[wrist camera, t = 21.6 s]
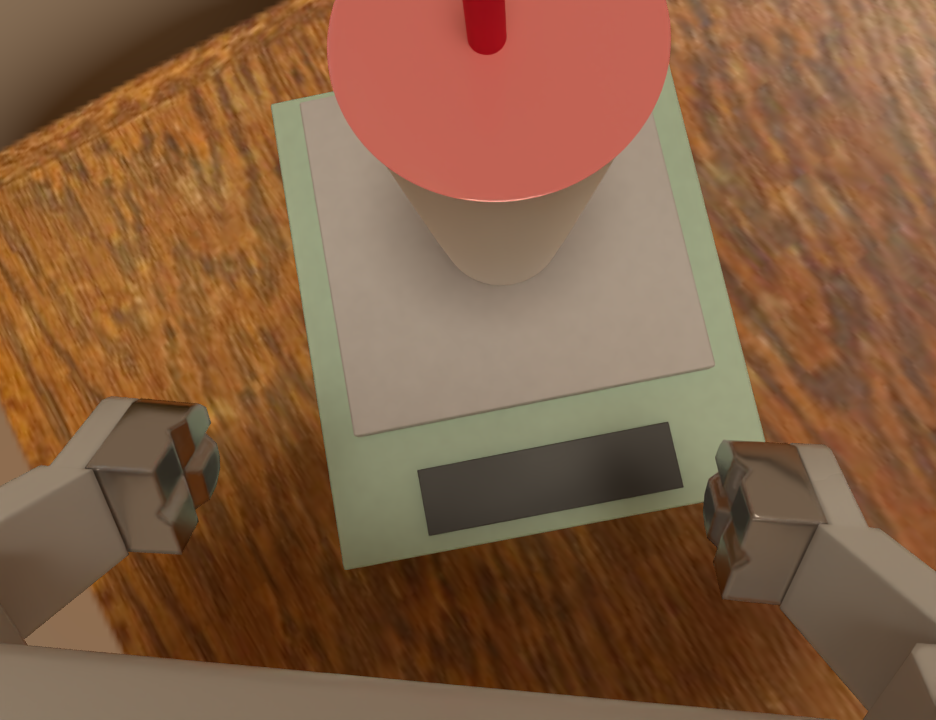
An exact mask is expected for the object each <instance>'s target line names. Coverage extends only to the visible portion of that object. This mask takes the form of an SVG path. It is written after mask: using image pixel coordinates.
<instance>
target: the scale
mask: <svg viewBox="0 0 936 720" xmlns="http://www.w3.org/2000/svg"><path fill="white" fill-rule="evenodd" d="M271 110H272V116H273V123H274V129H275V135H276V142H277V148H278V155H279V161H280V167H281V174H282V180H283V186H284V193H285V199H286V205H287V212H288V218H289V224H290V231H291V237H292V243H293V250H294V256H295V262H296V269H297V275H298V281H299V288H300V294H301V300H302V307H303V313H304V319H305V326H306V332H307V339H308V345H309V351H310V358H311V364H312V370H313V377H314V383H315V389H316V396H317V402H318V408H319V415H320V421H321V427H322V434H323V440H324V446H325V453H326V459H327V465H328V472H329V478H330V484H331V491H332V497H333V503H334V510H335V516H336V523H337V529H338V535H339V542H340V548H341V554H342V561H343V567H344V569H345V570H349V569H355V568H360V567H365V566H370V565H376V564H381V563H386V562H391V561H397V560H402V559H407V558H413V557H418V556H423V555H428V554H434V553H439V552H444V551H449V550H455V549H460V548H465V547H470V546H476V545H481V544H486V543H491V542H497V541H502V540H507V539H512V538H518V537H523V536H528V535H533V534H539V533H544V532H549V531H554V530H560V529H565V528H570V527H575V526H581V525H586V524H591V523H596V522H602V521H607V520H612V519H617V518H623V517H628V516H633V515H638V514H644V513H649V512H654V511H660V510H665V509H670V508H675V507H681V506H686V505H691V504H696V503H702V502H704V494H705V490H706V486H707V483H708V479H709V478H710V477H712V476H713V475H714V474H716V473H717V472H718V468H717V464H716V460H715V456H716V453H717V450H718V447H719V445H720V444H721V442H722V441H723V439H724V440H740V441H757V442H765V438H764V434H763V430H762V427H761V423H760V419H759V415H758V411H757V407H756V403H755V399H754V395H753V391H752V387H751V383H750V380H749V376H748V372H747V368H746V364H745V360H744V356H743V352H742V348H741V344H740V340H739V337H738V333H737V329H736V325H735V321H734V317H733V313H732V309H731V305H730V301H729V297H728V294H727V290H726V286H725V282H724V278H723V274H722V270H721V266H720V262H719V258H718V254H717V251H716V247H715V243H714V239H713V235H712V231H711V227H710V223H709V219H708V215H707V211H706V207H705V204H704V200H703V196H702V192H701V188H700V184H699V180H698V176H697V172H696V168H695V164H694V161H693V157H692V153H691V149H690V145H689V141H688V137H687V133H686V129H685V125H684V121H683V118H682V114H681V110H680V106H679V102H678V98H677V94H676V90H675V86H674V82H673V78H672V74H671V71H670V67H669V65H668V70H667V75H666V78H665V82H664V85H663V88H662V91H661V94H660V96H659V98H658V101H657V103H656V105H655V107H654V109H653V111H652V113H651V114H650V116H649V118H648V119H647V121H646V123H645V124H644V126H643V127H642V128H641V130H640V131H639V132H638V134H637V135H636V136H635V138H634V139H633V140H632V141H631V142H630V143H629V144H628V145H627V147H626V148H625V149H624V150H623V151H622V152H621V153H619V154H618V155H617V156H616V157H615V159H614V160H613V162H612V164H611V165H610V167H609V169H608V170H607V172H606V174H605V175H604V177H603V179H602V180H601V182H600V184H599V185H598V187H597V188H596V190H595V192H594V193H593V195H592V197H591V198H590V200H589V202H588V203H587V205H586V206H585V208H584V210H583V211H582V213H581V215H580V216H579V218H578V219H577V221H576V223H575V224H574V226H573V227H572V229H571V231H570V232H569V234H568V236H567V237H566V239H565V240H564V242H563V243H562V245H561V246H560V248H559V249H558V251H557V252H556V254H555V255H554V257H553V258H552V260H551V261H550V262H549V264H548V265H547V266H546V267H545V268H544V269H543V270H542V271H540V272H539V273H538V274H536V275H535V276H533V277H531V278H530V279H528V280H525V281H523V282H520V283H516V284H511V285H490V284H486V283H482V282H479V281H477V280H474V279H472V278H471V277H469V276H467V275H466V274H464V273H463V272H462V271H461V270H460V269H458V268H457V266H456V265H455V264H454V263H453V262H452V260H451V259H450V258H449V256H448V255H447V253H446V252H445V251H444V250H443V248H442V247H441V246H440V244H439V243H438V242H437V240H436V239H435V237H434V236H433V234H432V233H431V231H430V230H429V229H428V227H427V226H426V224H425V223H424V221H423V220H422V218H421V217H420V215H419V214H418V213H417V211H416V210H415V208H414V207H413V205H412V204H411V202H410V201H409V199H408V198H407V196H406V195H405V194H404V192H403V191H402V189H401V188H400V186H399V185H398V183H397V182H396V180H395V179H394V177H393V176H392V174H391V173H390V171H389V170H388V168H387V167H386V166H385V165H384V164H383V163H381V162H380V161H379V160H378V159H377V158H376V157H375V156H374V155H373V154H372V153H371V152H370V151H369V150H368V149H367V148H366V147H365V146H364V145H363V144H362V143H361V141H360V140H359V139H358V137H357V136H356V135H355V133H354V132H353V131H352V129H351V127H350V126H349V124H348V123H347V121H346V119H345V117H344V115H343V113H342V111H341V109H340V107H339V105H338V102H337V100H336V97H335V94H334V91H333V92H328V93H324V94H319V95H314V96H309V97H304V98H300V99H295V100H290V101H285V102H280V103H276V104H272V105H271Z"/></svg>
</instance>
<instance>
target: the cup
mask: <svg viewBox="0 0 936 720" xmlns="http://www.w3.org/2000/svg"><path fill="white" fill-rule="evenodd" d="M670 50H671V28H670V19H669V13H668V8H667V3H666V0H335V2H334V5H333V9H332V13H331V17H330V22H329V28H328V38H327V59H328V68H329V74H330V79H331V84H332V87H333V91H334V94H335V97H336V100H337V102H338V105H339V107H340V109H341V111H342V113H343V115H344V117H345V119H346V121H347V123H348V124H349V126H350V127H351V129H352V131H353V132H354V133H355V135H356V136H357V137H358V139H359V140H360V141H361V143H362V144H363V145H364V146H365V147H366V148H367V149H368V150H369V151H370V152H371V153H372V154H373V155H374V156H375V157H376V158H377V159H378V160H379V161H380V162H381V163H383V164H384V165H385V166H386V167H387V168H388V170H389V171H390V173H391V174H392V176H393V177H394V179H395V180H396V182H397V183H398V185H399V186H400V188H401V189H402V191H403V192H404V194H405V195H406V196H407V198H408V199H409V201H410V202H411V204H412V205H413V207H414V208H415V210H416V211H417V213H418V214H419V215H420V217H421V218H422V220H423V221H424V223H425V224H426V226H427V227H428V229H429V230H430V231H431V233H432V234H433V236H434V237H435V239H436V240H437V242H438V243H439V244H440V246H441V247H442V248H443V250H444V251H445V252H446V253H447V255H448V256H449V258H450V259H451V260H452V262H453V263H454V264H455V265H456V266H457V268H458V269H460V270H461V271H462V272H463V273H464V274H466V275H467V276H469V277H471V278H472V279H474V280H477V281H479V282H482V283H486V284H490V285H511V284H516V283H520V282H523V281H525V280H528V279H530V278H531V277H533V276H535V275H536V274H538V273H539V272H540V271H542V270H543V269H544V268H545V267H546V266H547V265H548V264H549V262H550V261H551V260H552V258H553V257H554V255H555V254H556V252H557V251H558V249H559V248H560V246H561V245H562V243H563V242H564V240H565V239H566V237H567V236H568V234H569V232H570V231H571V229H572V227H573V226H574V224H575V223H576V221H577V219H578V218H579V216H580V215H581V213H582V211H583V210H584V208H585V206H586V205H587V203H588V202H589V200H590V198H591V197H592V195H593V193H594V192H595V190H596V188H597V187H598V185H599V184H600V182H601V180H602V179H603V177H604V175H605V174H606V172H607V170H608V169H609V167H610V165H611V164H612V162H613V160H614V159H615V157H616V156H617V155H618V154H619V153H621V152H622V151H623V150H624V149H625V148H626V147H627V145H628V144H629V143H630V142H631V141H632V140H633V139H634V138H635V136H636V135H637V134H638V132H639V131H640V130H641V128H642V127H643V126H644V124H645V123H646V121H647V119H648V118H649V116H650V114H651V113H652V111H653V109H654V107H655V105H656V103H657V101H658V98H659V96H660V94H661V91H662V88H663V85H664V82H665V78H666V75H667V70H668V65H669V59H670Z"/></svg>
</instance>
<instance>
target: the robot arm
mask: <svg viewBox="0 0 936 720" xmlns="http://www.w3.org/2000/svg"><path fill="white" fill-rule="evenodd" d="M210 424H211V421H210V418H209V415H208V412H207V409H206V407H205V406H203V405H201V404H197V403H186V402H175V401H164V400H153V399H142V398H141V399H135V398H125V397H114V396H111V397H108V398H106V399H104V400H102V401H101V402H100V403H99V405H98V406H97V407H96V408H95V410H94V411H93V412H92V413H91V415H90V416H89V417H88V418H87V420H86V421H85V422H84V423H83V425H82V426H81V427H80V428H79V430H78V431H77V432H76V433H75V435H74V436H73V437H72V438H71V440H70V441H69V442H68V443H67V445H66V446H65V447H64V448H63V450H62V451H61V452H60V453H59V455H58V456H57V457H56V458H55V460H54V461H53V462H52V463H51V465H50V466H38V467H36V468H34V469H32V470H30V471H28V472H26V473H25V474H23V475H21V476H19V477H17V478H15V479H13V480H11V481H10V482H7V483H5V484H4V485H2V486H0V720H835V719H824V718H813V717H802V716H791V715H780V714H770V713H759V712H748V711H737V710H726V709H715V708H704V707H694V706H683V705H672V704H661V703H650V702H639V701H628V700H616V699H605V698H594V697H583V696H572V695H561V694H550V693H539V692H528V691H517V690H506V689H495V688H484V687H473V686H462V685H451V684H441V683H430V682H419V681H408V680H397V679H387V678H376V677H365V676H354V675H344V674H333V673H322V672H311V671H301V670H290V669H279V668H268V667H257V666H246V665H236V664H225V663H214V662H203V661H192V660H181V659H170V658H159V657H149V656H138V655H127V654H116V653H105V652H94V651H83V650H72V649H61V648H51V647H40V646H28V645H27V643H26V642H25V640H24V639H25V638H26V637H27V636H29V635H30V634H31V633H33V632H34V631H35V630H36V629H37V628H39V627H40V626H41V625H42V624H44V623H45V622H46V621H47V620H49V619H50V618H51V617H52V616H53V615H54V614H56V613H57V612H58V611H60V610H61V609H62V608H63V607H65V606H66V605H67V604H68V603H70V602H71V601H72V600H73V599H74V598H76V597H77V596H78V595H79V594H81V593H82V592H83V591H84V590H86V589H87V588H88V587H89V586H91V585H92V584H93V583H94V582H95V581H97V580H98V579H99V578H100V577H102V576H103V575H104V574H105V573H107V572H108V571H109V570H110V569H112V568H113V567H114V566H115V565H116V564H118V563H119V562H120V561H121V560H123V559H124V558H125V557H126V556H128V554H129V553H128V552H144V553H162V554H181V555H182V553H183V551H184V549H185V547H186V545H187V543H188V541H189V539H190V537H191V535H192V533H193V531H194V529H195V527H196V525H197V523H198V522H199V521H198V518H197V514H196V511H195V509H197V508H198V507H199V506H201V505H202V504H204V503H205V502H207V501H208V500H210V498H211V496H212V494H213V492H214V490H215V487H216V485H217V480H218V475H219V471H220V456H219V451H218V447H217V443H216V442H215V441H213V440H212V439H211V438H210V437H209V436H208V435H207V434H206V433H205V432H206V431H207V429H208V427H209V425H210ZM715 460H716V464H717V468H718V472H717V473H716V474H714V475H713V476H712V477H710V478H709V479H708V483H707V486H706V490H705V494H704V506H703V515H704V525H705V530H706V534H707V538H708V539H709V540H710V541H711V542H712V543H713V544H714V545H715V546H716V547H717V551H716V554H715V557H714V560H713V564H714V569H715V573H716V577H717V581H718V585H719V589H720V593H721V597H722V599H726V600H735V601H745V602H754V603H763V604H772V605H781V606H780V609H781V610H782V611H783V613H784V614H785V615H786V616H787V617H788V618H789V620H790V621H791V622H792V623H793V624H794V625H795V627H796V628H797V629H798V630H799V631H800V632H801V634H802V635H803V636H804V637H805V638H806V639H807V641H808V642H809V643H810V644H811V645H812V646H813V648H814V649H815V650H816V651H817V652H818V653H819V655H820V656H821V657H822V658H823V659H824V660H825V661H826V663H827V664H828V665H829V666H830V667H831V668H832V670H833V671H834V672H835V673H836V674H837V675H838V677H839V678H840V679H841V680H842V681H843V682H844V684H845V685H846V686H847V687H848V688H849V689H850V691H851V692H852V693H853V694H854V695H855V696H856V698H857V699H858V700H859V701H860V702H861V703H862V705H863V706H864V707H865V708H866V709H867V710H868V713H867V714H866V716H865V717H864V719H863V720H936V571H934V570H933V569H932V568H930V567H929V566H928V565H926V564H925V563H924V562H922V561H921V560H920V559H919V558H917V557H916V556H915V555H913V554H912V553H911V552H909V551H908V550H907V549H905V548H904V547H903V546H901V545H900V544H899V543H898V542H896V541H895V540H894V539H892V538H891V537H890V536H888V535H887V534H886V533H884V532H883V531H882V530H881V529H879V528H869V527H868V525H867V523H866V521H865V519H864V517H863V514H862V512H861V510H860V508H859V506H858V504H857V502H856V500H855V498H854V496H853V494H852V492H851V490H850V488H849V486H848V483H847V481H846V479H845V477H844V475H843V473H842V471H841V469H840V467H839V465H838V463H837V461H836V459H835V457H834V455H833V453H832V450H831V449H830V448H829V447H827V446H826V445H818V444H799V443H791V444H787V443H773V442H757V441H740V440H724V439H723V441H722V442H721V444H720V445H719V447H718V450H717V453H716V456H715Z"/></svg>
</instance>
